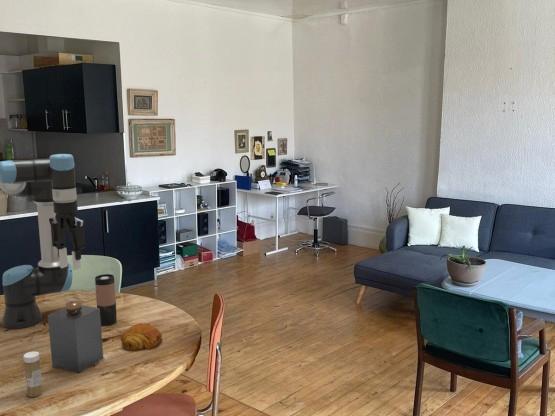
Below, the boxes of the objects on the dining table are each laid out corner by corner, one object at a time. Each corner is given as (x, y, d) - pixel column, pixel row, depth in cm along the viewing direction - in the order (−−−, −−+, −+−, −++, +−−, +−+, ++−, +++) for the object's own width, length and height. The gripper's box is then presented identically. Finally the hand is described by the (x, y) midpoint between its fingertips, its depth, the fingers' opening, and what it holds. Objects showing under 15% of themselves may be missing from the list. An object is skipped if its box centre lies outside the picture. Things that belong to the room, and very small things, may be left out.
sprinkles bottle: (24, 394, 175) (20, 354, 173) (38, 388, 179) (34, 349, 176) (31, 399, 172) (27, 358, 170) (45, 393, 176) (41, 353, 173)
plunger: (59, 361, 194) (54, 305, 190) (77, 351, 202) (72, 297, 198) (78, 366, 191) (73, 309, 187) (96, 355, 198) (92, 300, 195)
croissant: (115, 353, 209) (111, 334, 206) (139, 332, 222) (135, 314, 220) (148, 358, 204) (144, 339, 201) (170, 336, 217) (167, 318, 215)
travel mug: (120, 319, 236) (117, 274, 232) (113, 326, 228) (109, 279, 224) (102, 319, 236) (99, 273, 233) (95, 326, 229) (91, 279, 225)
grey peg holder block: (52, 366, 194) (47, 315, 190) (77, 352, 204) (73, 303, 201) (79, 373, 189) (74, 320, 185) (103, 358, 200) (99, 308, 196)
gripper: (36, 201, 186) (42, 268, 190) (77, 204, 179) (83, 274, 183) (53, 197, 193) (58, 262, 197) (94, 200, 186) (99, 267, 190)
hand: (70, 267), depth 190 cm, fingers open, 5 cm apart
